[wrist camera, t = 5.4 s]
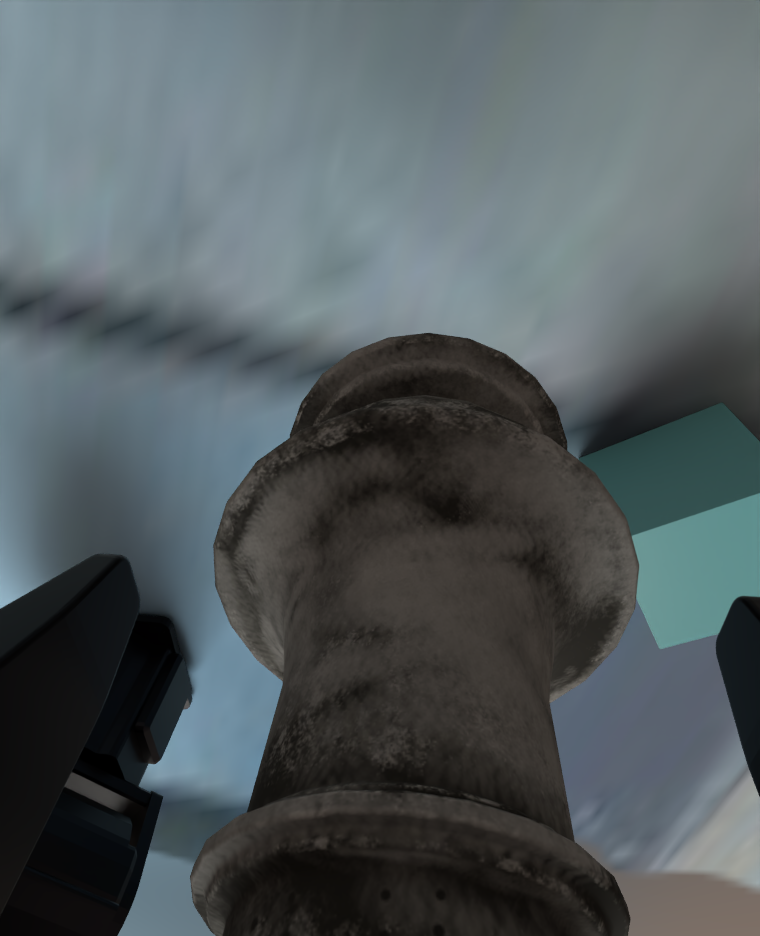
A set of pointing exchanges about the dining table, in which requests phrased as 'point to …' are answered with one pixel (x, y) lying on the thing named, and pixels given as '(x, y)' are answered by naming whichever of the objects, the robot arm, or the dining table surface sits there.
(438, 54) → the dining table surface
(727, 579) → the teal block
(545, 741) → the salt shaker
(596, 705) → the dining table surface
